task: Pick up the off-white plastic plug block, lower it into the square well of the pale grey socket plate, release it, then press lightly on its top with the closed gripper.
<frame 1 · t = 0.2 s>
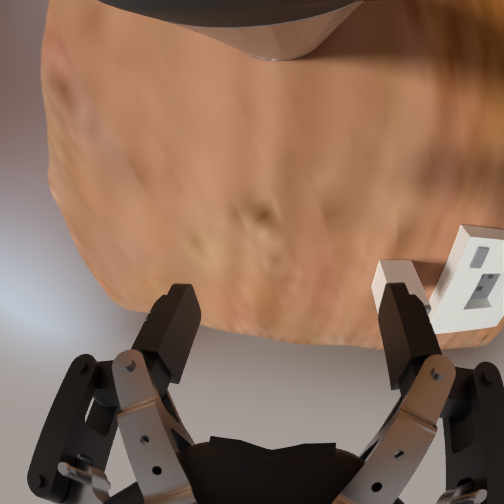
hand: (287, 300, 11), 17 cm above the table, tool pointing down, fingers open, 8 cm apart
plug: (391, 274, 31), on the table
socket plate: (481, 279, 29), on the table
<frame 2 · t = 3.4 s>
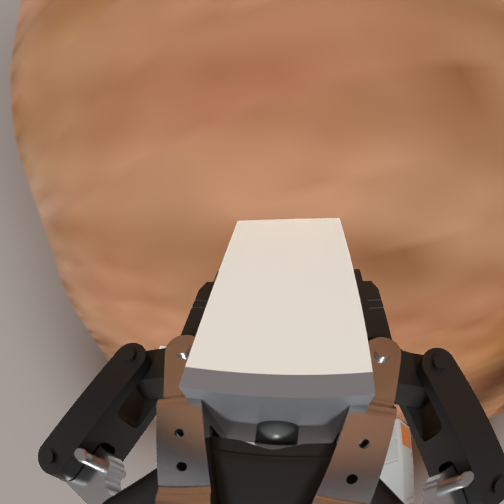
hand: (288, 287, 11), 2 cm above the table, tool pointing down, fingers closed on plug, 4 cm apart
plug: (290, 260, 13), on the table, touching gripper
skincare box: (390, 425, 26), on the table
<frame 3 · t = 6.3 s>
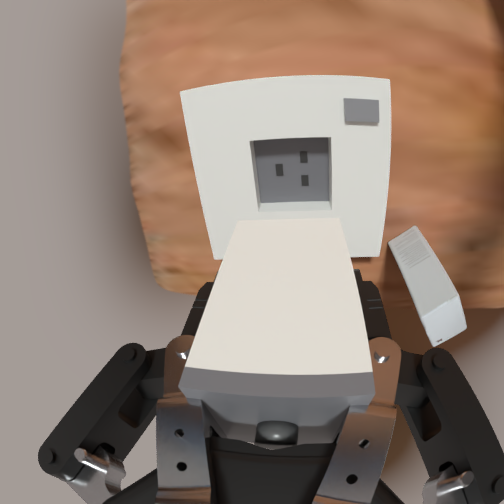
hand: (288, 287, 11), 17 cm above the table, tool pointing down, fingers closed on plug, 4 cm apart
plug: (290, 260, 13), point 15 cm above the table, touching gripper
skincare box: (409, 248, 29), on the table
socket plate: (293, 167, 25), on the table
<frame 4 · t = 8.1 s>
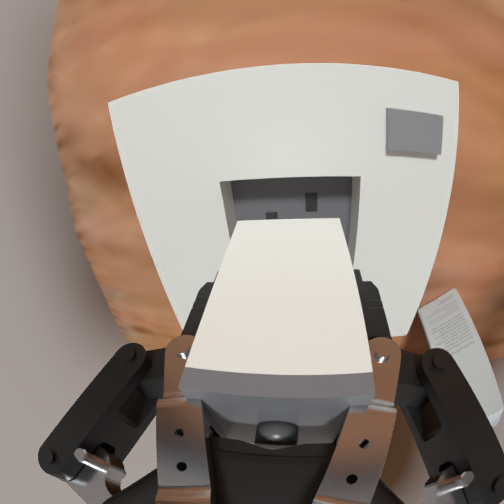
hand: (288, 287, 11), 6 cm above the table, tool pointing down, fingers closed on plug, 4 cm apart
plug: (290, 260, 13), point 5 cm above the table, touching gripper
skincare box: (441, 313, 20), on the table
socket plate: (293, 216, 17), on the table
when the fingers open (3 cm above the table, at t = 9.6 s): plug stays where it is, resting on socket plate.
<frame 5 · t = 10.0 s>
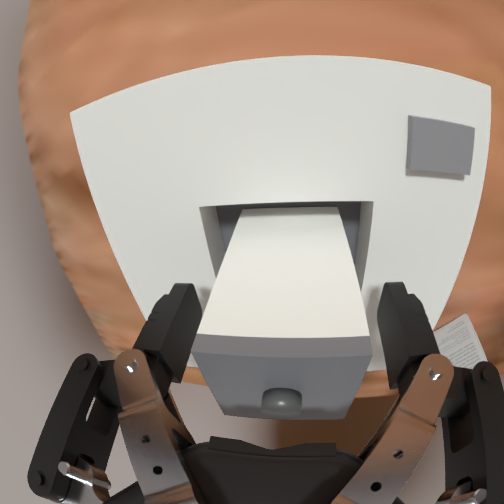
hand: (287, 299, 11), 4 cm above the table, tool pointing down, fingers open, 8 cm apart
plug: (291, 247, 14), point 1 cm above the table, touching socket plate
skincare box: (450, 337, 18), on the table
socket plate: (290, 242, 14), on the table
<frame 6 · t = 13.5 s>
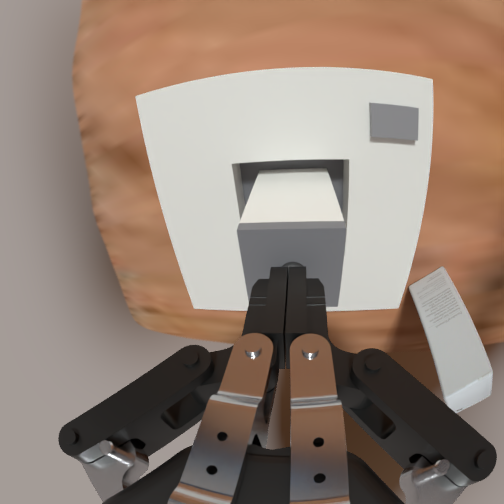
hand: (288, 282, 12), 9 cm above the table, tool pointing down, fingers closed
plug: (294, 199, 19), point 1 cm above the table, touching gripper, socket plate
skincare box: (432, 291, 22), on the table
socket plate: (293, 197, 19), on the table
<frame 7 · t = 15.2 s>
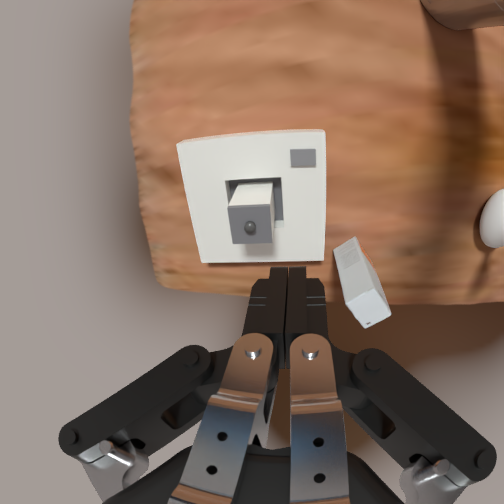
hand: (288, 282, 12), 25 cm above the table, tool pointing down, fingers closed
plug: (257, 197, 36), point 1 cm above the table, touching socket plate
skincare box: (352, 254, 40), on the table
flower in vase: (498, 212, 32), on the table
socket plate: (257, 196, 37), on the table
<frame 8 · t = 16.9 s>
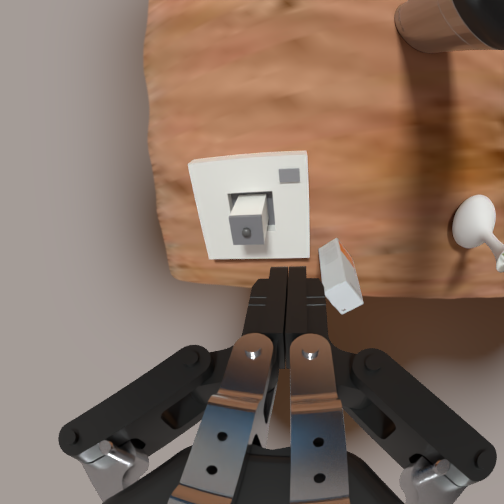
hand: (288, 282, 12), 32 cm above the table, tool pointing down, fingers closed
plug: (254, 206, 45), point 1 cm above the table, touching socket plate
skincare box: (335, 252, 48), on the table
flower in vase: (473, 216, 39), on the table
socket plate: (254, 205, 45), on the table
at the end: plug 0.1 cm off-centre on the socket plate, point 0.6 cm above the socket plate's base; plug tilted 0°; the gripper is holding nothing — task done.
